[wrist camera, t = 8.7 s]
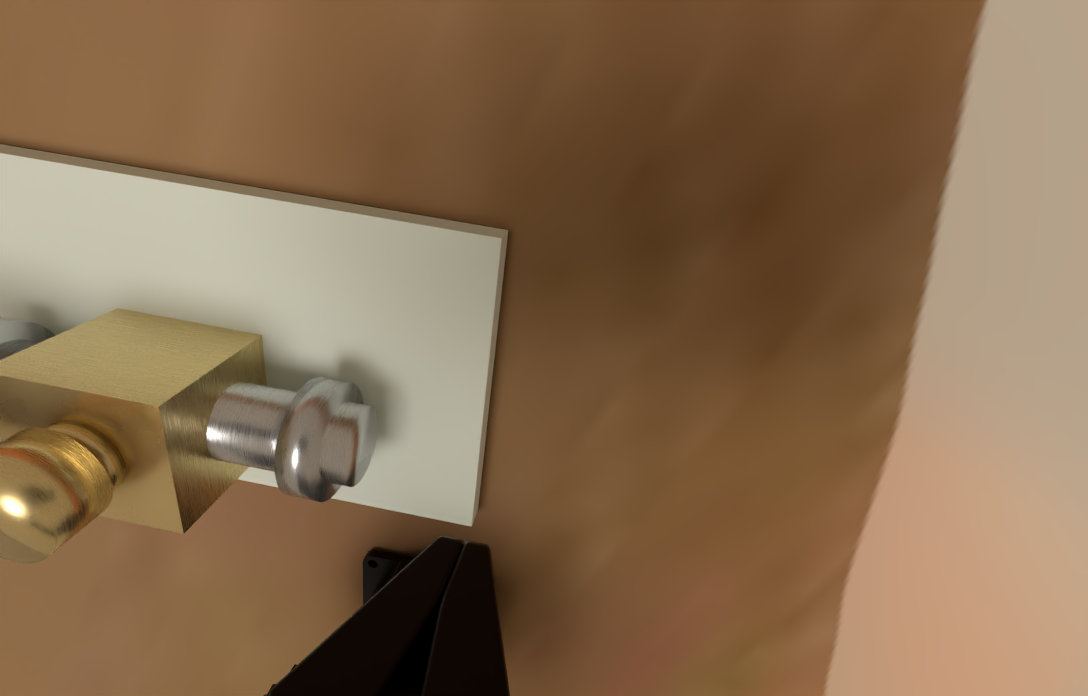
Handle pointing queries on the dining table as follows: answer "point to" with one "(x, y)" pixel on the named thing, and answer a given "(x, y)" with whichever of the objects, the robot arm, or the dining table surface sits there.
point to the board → (280, 299)
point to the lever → (47, 493)
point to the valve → (180, 412)
